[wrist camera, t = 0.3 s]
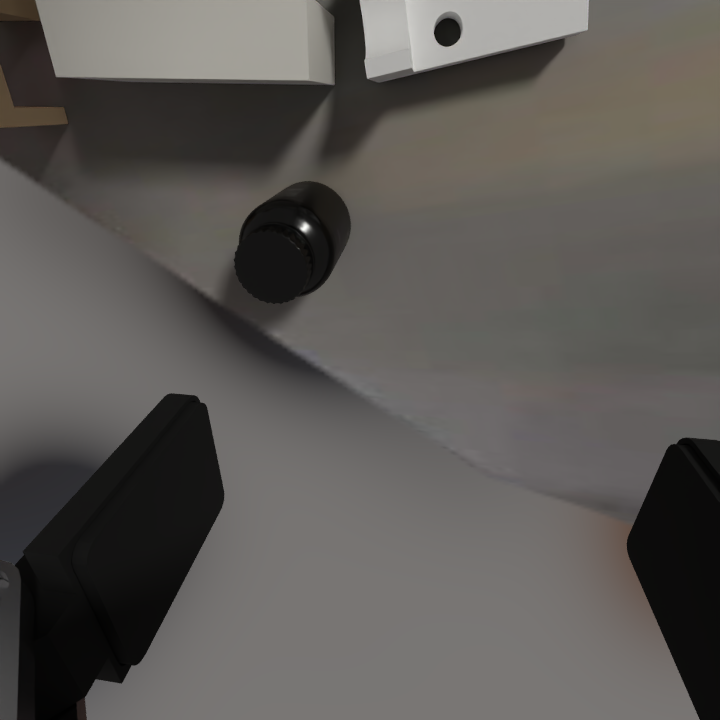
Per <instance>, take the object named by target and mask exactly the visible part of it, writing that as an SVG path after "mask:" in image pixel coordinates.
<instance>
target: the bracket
mask: <svg viewBox="0 0 720 720" xmlns="http://www.w3.org/2000/svg"><path fill="white" fill-rule="evenodd" d="M360 6H361V12H362V19H363V26H364V34H365V45H366V58H365V60H364V62H365V69H366V75H367V79H369V80H372V81H375V82H378V83H380V82H384V81H389V80H393V79H397V78H401V77H405V76H409V75H413V74H418V73H422V72H426V71H430V70H434V69H438V68H443V67H447V66H451V65H455V64H459V63H463V62H467V61H472V60H476V59H480V58H484V57H488V56H492V55H497V54H501V53H505V52H509V51H513V50H517V49H521V48H526V47H530V46H534V45H538V44H542V43H546V42H551V41H555V40H559V39H563V38H567V37H571V36H575V35H578V34H580V33H582V32H584V31H586V30H588V6H589V0H360ZM446 18H451V19H454V20H455V21H456V22H457V23H458V24H459V26H460V30H461V35H460V39H459V40H458V42H457V43H455V44H454V45H452V46H449V47H444V46H441V45H440V44H439V43H438V42H437V41H436V39H435V37H434V30H435V28H436V26H437V24H438V23H439V22H440V21H442V20H443V19H446Z"/></svg>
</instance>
